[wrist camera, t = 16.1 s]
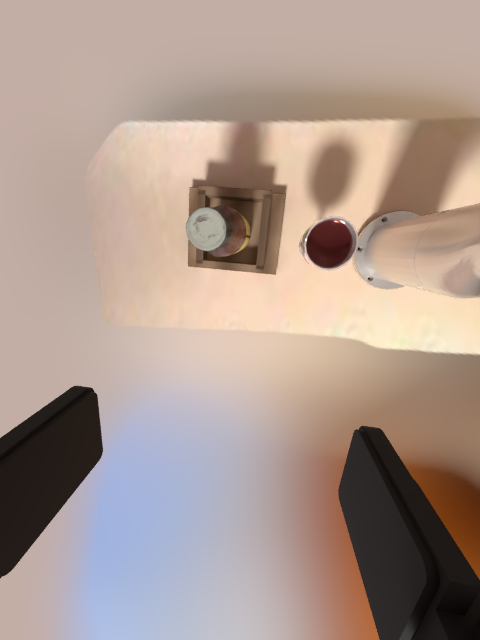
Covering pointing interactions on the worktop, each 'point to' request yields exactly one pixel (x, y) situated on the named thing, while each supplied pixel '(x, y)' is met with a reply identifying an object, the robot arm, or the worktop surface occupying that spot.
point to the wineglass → (329, 243)
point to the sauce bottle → (218, 230)
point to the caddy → (264, 224)
